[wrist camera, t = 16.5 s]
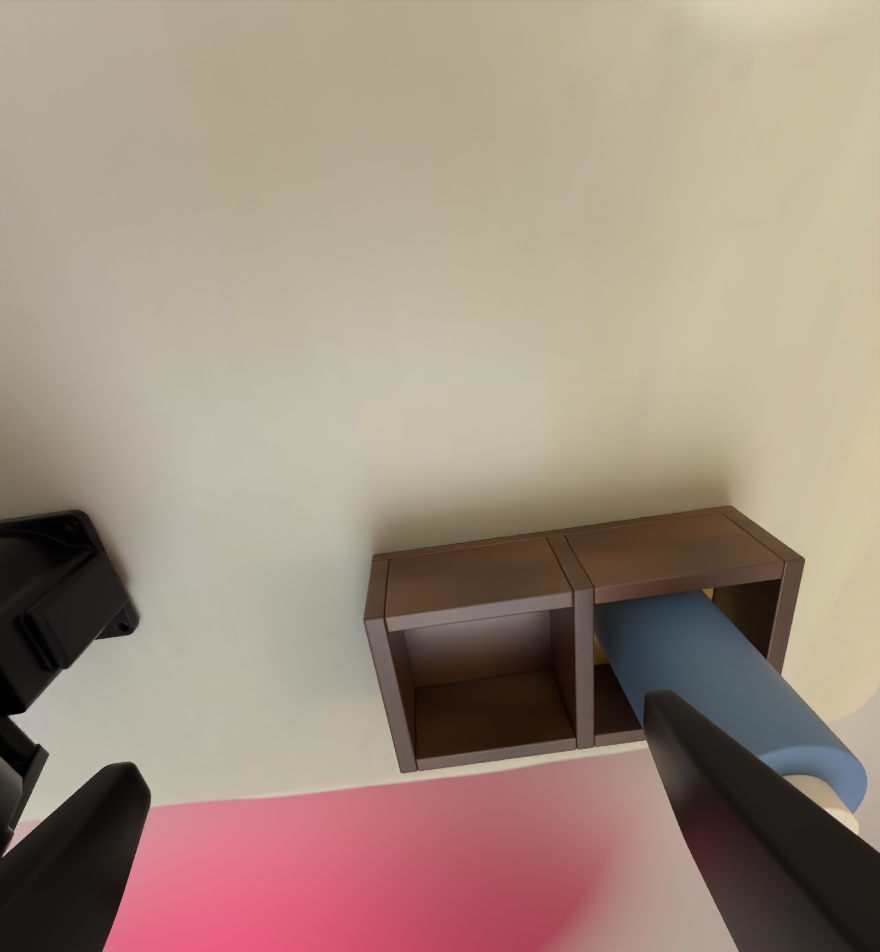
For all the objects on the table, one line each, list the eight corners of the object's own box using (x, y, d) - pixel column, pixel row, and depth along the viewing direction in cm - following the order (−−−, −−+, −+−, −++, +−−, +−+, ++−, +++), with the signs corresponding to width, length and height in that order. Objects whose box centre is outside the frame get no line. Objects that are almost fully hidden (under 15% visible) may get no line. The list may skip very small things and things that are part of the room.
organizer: (402, 693, 25) (400, 774, 21) (372, 555, 22) (362, 619, 18) (712, 650, 25) (771, 724, 21) (731, 505, 22) (806, 558, 18)
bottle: (573, 638, 23) (684, 891, 14) (609, 550, 22) (767, 772, 12) (668, 651, 24) (837, 902, 14) (711, 567, 22) (940, 791, 13)
